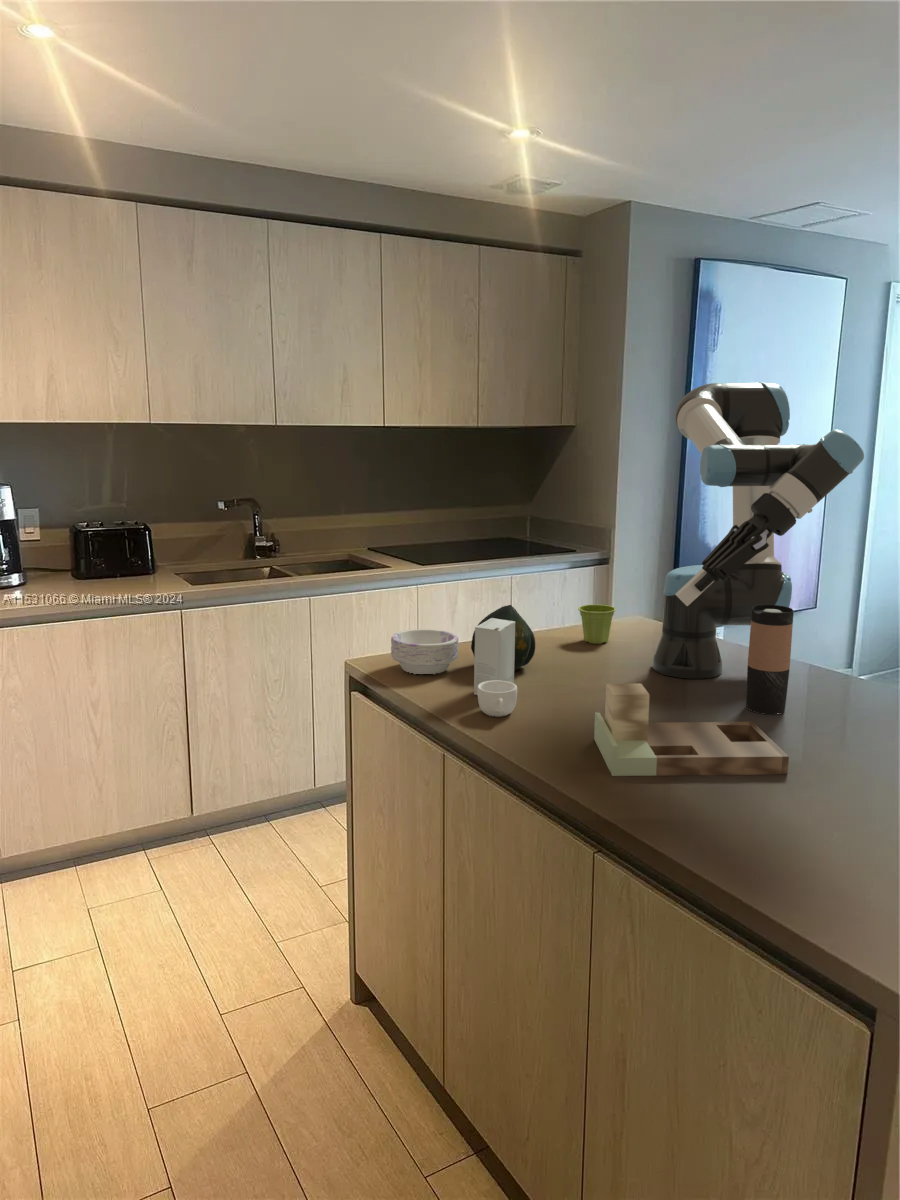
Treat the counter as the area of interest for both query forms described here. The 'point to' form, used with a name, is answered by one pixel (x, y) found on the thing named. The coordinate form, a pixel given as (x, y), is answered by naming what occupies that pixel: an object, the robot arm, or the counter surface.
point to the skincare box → (494, 651)
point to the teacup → (497, 697)
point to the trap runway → (714, 749)
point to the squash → (522, 635)
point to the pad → (624, 752)
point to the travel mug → (769, 658)
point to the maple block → (627, 711)
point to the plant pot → (596, 622)
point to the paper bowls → (424, 650)
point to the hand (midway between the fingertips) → (681, 600)
